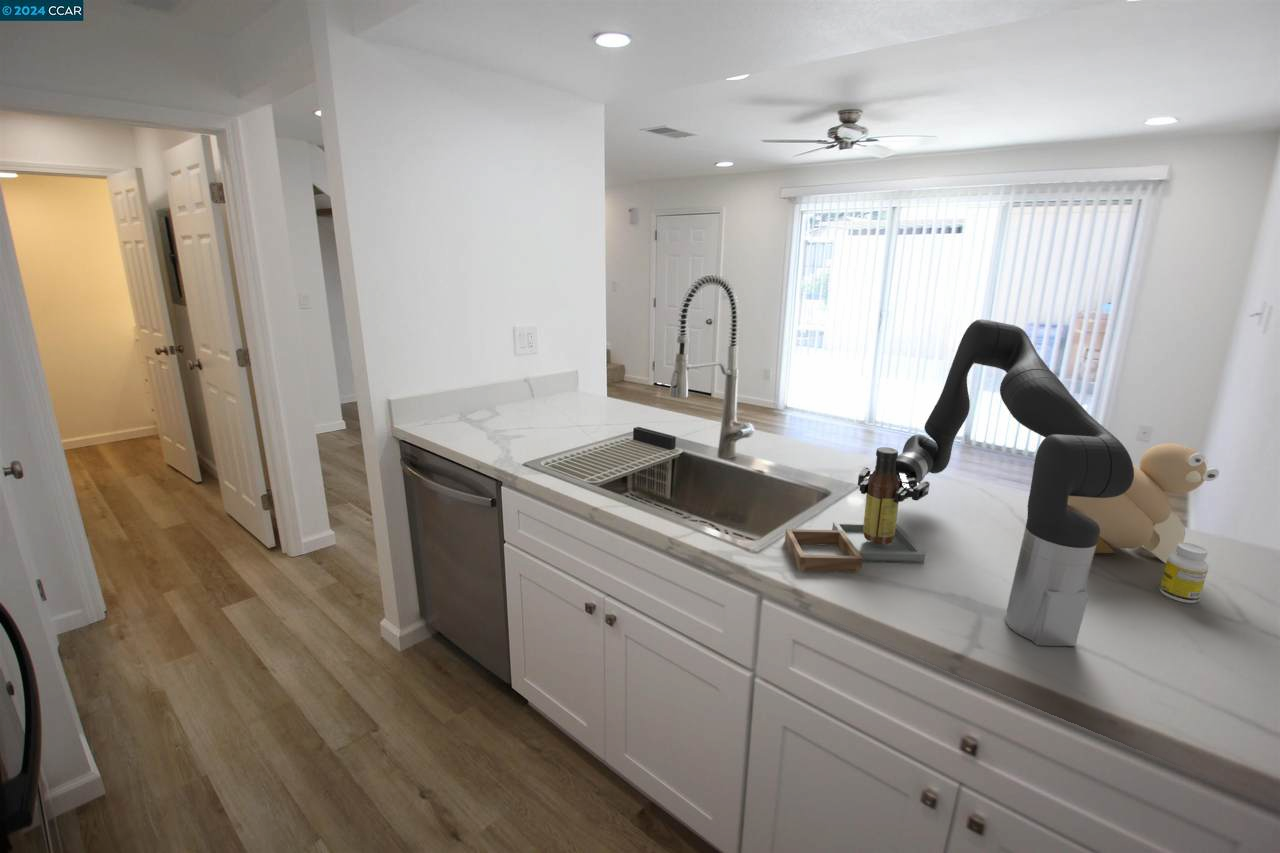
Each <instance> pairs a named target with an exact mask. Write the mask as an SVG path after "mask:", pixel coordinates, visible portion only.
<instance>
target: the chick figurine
mask: <svg viewBox="0 0 1280 853" xmlns="http://www.w3.org/2000/svg"><path fill="white" fill-rule="evenodd" d="M1205 460H1206V457H1205V455H1204V454H1202V453H1201V452H1197V451H1195V449H1193V448H1191V447H1188V446H1185V445H1183V444H1181V443H1180V444H1179V443H1171V442H1170V443H1169V442H1167V443H1160V444H1157V445H1154V446H1152V447H1150V448H1149V449H1147V450H1146V451H1145V452H1144V453H1143V454H1142V456H1141V458H1140V460H1139V467H1138V466H1136V465H1135V464H1133V468H1134V479H1133V482H1132V485H1131V487H1130V488H1129V489H1128V490H1127V491H1126V492H1125V493H1124V494H1122V495H1119V496H1116V497H1110V498H1092V497H1079V496H1068V503H1067V508H1069V509H1072V510H1074V511H1077V512H1079V513H1082V514H1084V515H1086V516H1088V517H1089V518H1091V519H1093V520H1094V521H1095V522H1096V523H1097V524H1098V525H1099V527H1100V534H1099V538H1098V542H1097V545H1096V549H1095V553H1094V554H1103V553H1104V554H1105V553H1109V554H1110V553H1115V551H1114V550H1113V549H1112V548H1111V547H1110V546H1113V547H1115V548H1121V549H1138V548H1142V547H1143V548H1145V549H1146V550H1147V551H1149V552H1150V553H1151V554H1153V555H1154V556H1155V557H1156V558H1157V559H1159V560H1160V561H1162V562H1163V563H1164V564H1167V560H1168V557H1169V556H1170V555H1171V554H1173V553H1177V552H1176V548H1177V545H1178V543H1184V541H1185V539H1186V538H1185V536H1186V528H1185V526H1184V524H1183V522H1182V520H1181V519H1180V517H1179V516H1178V515H1177V514H1175V513H1174V512H1173V511H1172V507H1171V503H1170V501H1169V498H1168V496H1167V493H1171V494H1185V493H1189V492H1192V491H1195V490H1196V489H1198V488H1199V487H1200V486H1202V484H1203V483H1204V482H1205V481H1206V482H1211V481H1214V480H1215V479H1218V477H1219V475H1220V471H1219V469H1217V468H1214V467H1212V468H1211V467H1210V468H1209V469H1208V467H1207V464H1206V462H1205Z"/></svg>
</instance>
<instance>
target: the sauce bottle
mask: <svg viewBox="0 0 1280 853" xmlns="http://www.w3.org/2000/svg"><path fill="white" fill-rule="evenodd" d="M875 455H876V461H875V468H874V470H873V471H872V472H873V473H872V474H871V475H870V476H869V479H868V490H867V493H866V494H865V496H866V498H865V506H864V508H865V509H864V516H863V517H864V518H863V523H864V525H863V533H864V537H865V538H866V539H867V540H868V541H871V542H873V543H876V544H889V543H891V542H893V540H894V534H895V529H896V524H897V518H898V510H899V509H898V508H899V503H895V502H894V498H895V493H896V492H897V491H898V490H899V486H900V482H899V480H898V477H897V475H896V472H895V470H896V468H895V467H896V459H897V457H898V455H899V452H898V449H895V448H892V447H887V446H885V447H883V446H882V447H878V448H877V449H876V452H875Z"/></svg>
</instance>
